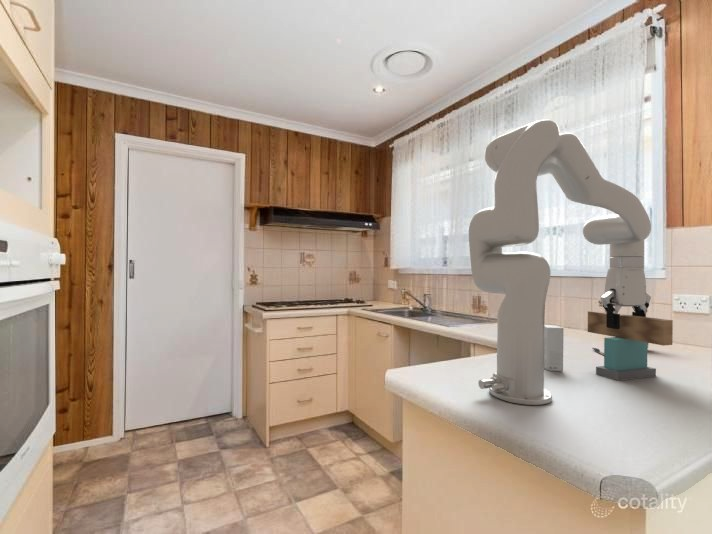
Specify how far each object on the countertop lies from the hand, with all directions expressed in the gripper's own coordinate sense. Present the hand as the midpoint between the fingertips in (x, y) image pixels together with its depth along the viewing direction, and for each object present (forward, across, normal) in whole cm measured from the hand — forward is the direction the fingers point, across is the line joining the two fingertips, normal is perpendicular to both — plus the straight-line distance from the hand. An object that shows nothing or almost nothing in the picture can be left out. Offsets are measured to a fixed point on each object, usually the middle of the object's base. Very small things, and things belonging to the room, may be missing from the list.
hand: (626, 327), depth 99 cm
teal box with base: (+13, 0, 0) cm, 13 cm away
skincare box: (+13, +14, -11) cm, 22 cm away
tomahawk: (+13, -17, -16) cm, 27 cm away
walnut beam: (+3, 0, 0) cm, 3 cm away
